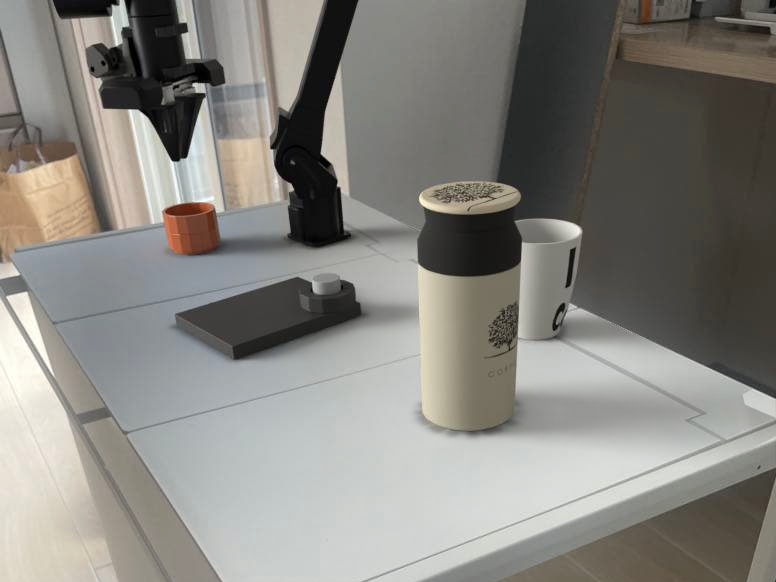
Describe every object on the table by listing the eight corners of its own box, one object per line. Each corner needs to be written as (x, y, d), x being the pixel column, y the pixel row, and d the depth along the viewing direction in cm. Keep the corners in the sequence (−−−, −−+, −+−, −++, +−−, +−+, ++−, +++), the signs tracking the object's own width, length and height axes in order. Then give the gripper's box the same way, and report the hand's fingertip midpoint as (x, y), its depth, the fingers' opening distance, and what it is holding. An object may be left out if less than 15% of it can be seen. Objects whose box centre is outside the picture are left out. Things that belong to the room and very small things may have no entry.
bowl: (205, 236, 116) (198, 199, 113) (230, 247, 112) (224, 208, 109) (160, 248, 113) (152, 209, 110) (185, 259, 109) (177, 219, 106)
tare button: (330, 284, 91) (328, 270, 91) (346, 291, 90) (345, 277, 89) (307, 292, 90) (306, 277, 89) (324, 299, 88) (322, 284, 87)
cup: (572, 348, 82) (581, 245, 76) (489, 344, 84) (492, 242, 78) (575, 316, 88) (583, 219, 82) (498, 313, 90) (501, 217, 84)
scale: (302, 287, 99) (299, 261, 97) (367, 315, 91) (365, 288, 89) (176, 326, 91) (171, 299, 89) (236, 361, 83) (231, 332, 81)
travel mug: (403, 408, 73) (394, 193, 63) (474, 382, 77) (476, 174, 66) (461, 444, 68) (461, 215, 57) (533, 414, 72) (546, 193, 61)
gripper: (139, 7, 106) (165, 142, 115) (42, 24, 92) (80, 175, 101) (216, 6, 103) (236, 144, 112) (128, 23, 89) (159, 179, 98)
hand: (179, 159), depth 106 cm, fingers closed
